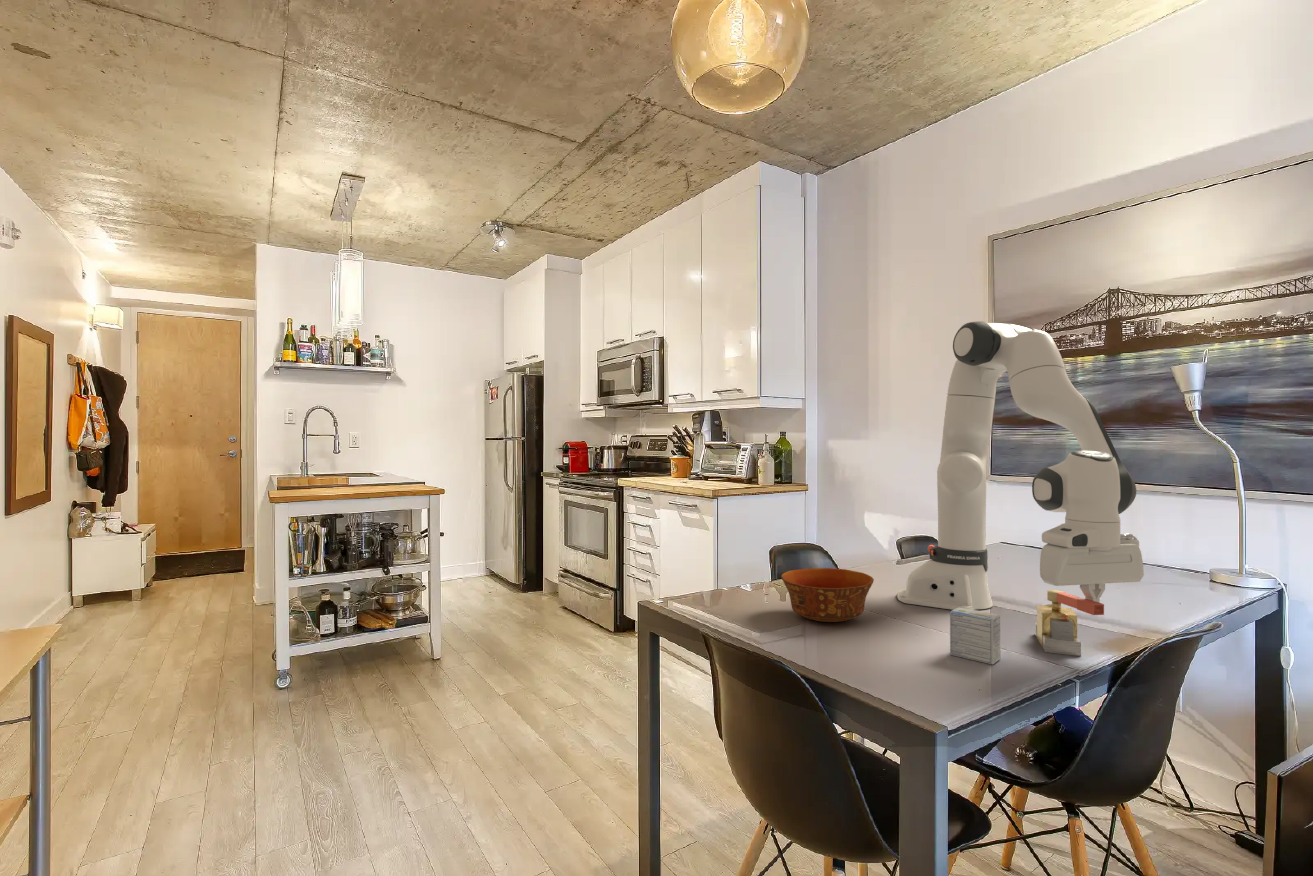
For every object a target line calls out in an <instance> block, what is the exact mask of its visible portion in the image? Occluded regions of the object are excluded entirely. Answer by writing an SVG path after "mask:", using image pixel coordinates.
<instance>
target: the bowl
mask: <svg viewBox="0 0 1313 876" xmlns="http://www.w3.org/2000/svg"><path fill="white" fill-rule="evenodd" d="M780 578H781V580H782V583H783V584H784V586H785V587H786V590H787V593H788V595H789V598H790V599H789V600H790V606H791V609H792V611H793V612H794V613H795V614H797V616H800V617H803V618H806V619H809V620H812V621H817V622H823V623H839V622H844V621H848V620H849V621H850V620H852V619H855V618H858V617H859V616H861V615H862V614H863V612H864V610H865V609H864V608H865V605H866V600H867V596H868V594H869V591H870V589H871V588H872V585H873V583H874V581H875V579H874V578H873V576H871V575H869V574H867V573H864V572H859V571H855V570H849V569H846V568H831V567H830V568H829V567H827V568H826V567H821V568H820V567H818V568H817V567H815V568H814V567H813V568H812V567H811V568H801V569H792V570H788V571H785V572H783V573H782V574H781V576H780Z"/></svg>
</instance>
